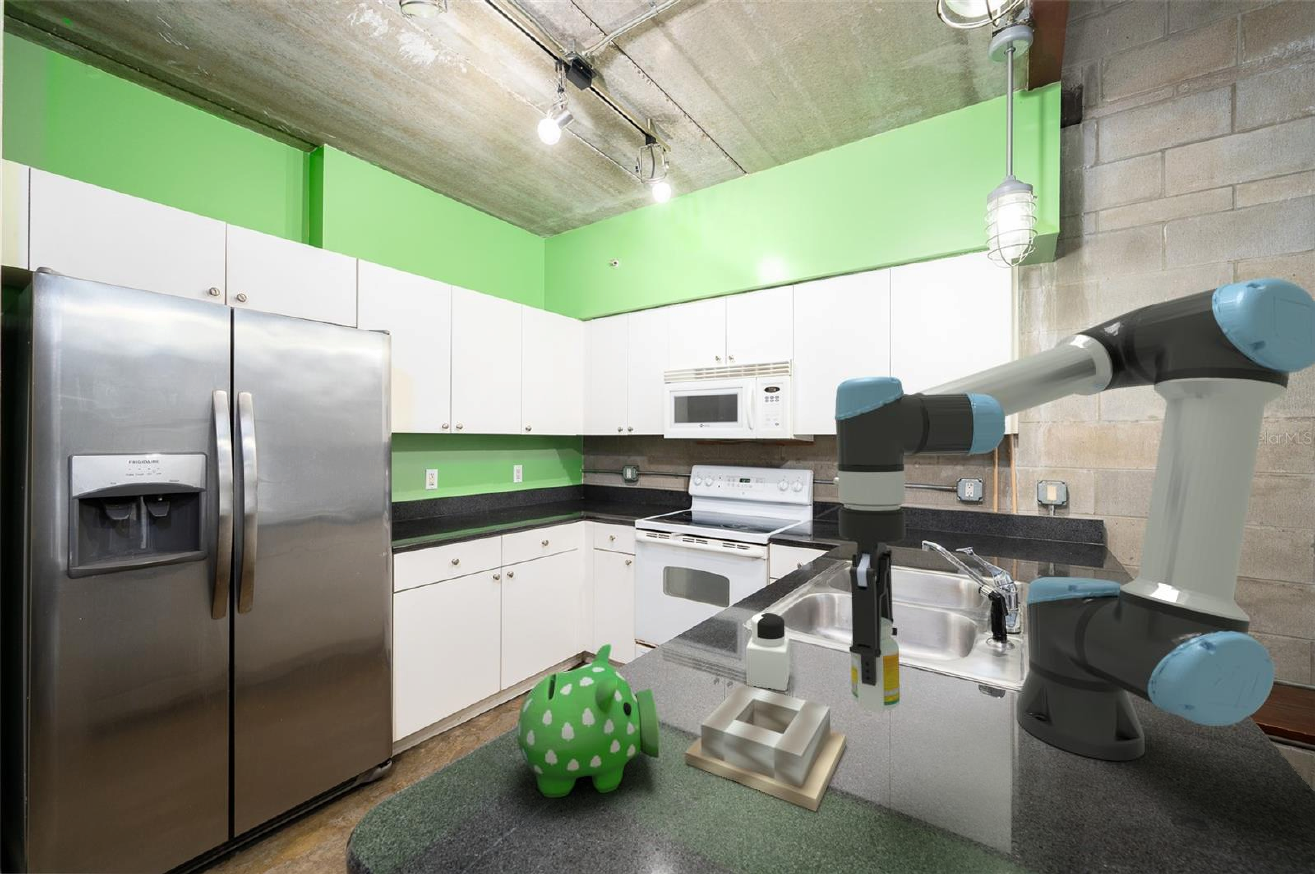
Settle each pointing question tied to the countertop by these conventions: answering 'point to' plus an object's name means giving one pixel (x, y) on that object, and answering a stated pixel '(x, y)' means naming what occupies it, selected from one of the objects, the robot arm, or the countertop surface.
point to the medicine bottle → (768, 653)
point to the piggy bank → (586, 727)
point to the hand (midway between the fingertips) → (875, 697)
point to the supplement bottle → (889, 667)
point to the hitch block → (770, 745)
